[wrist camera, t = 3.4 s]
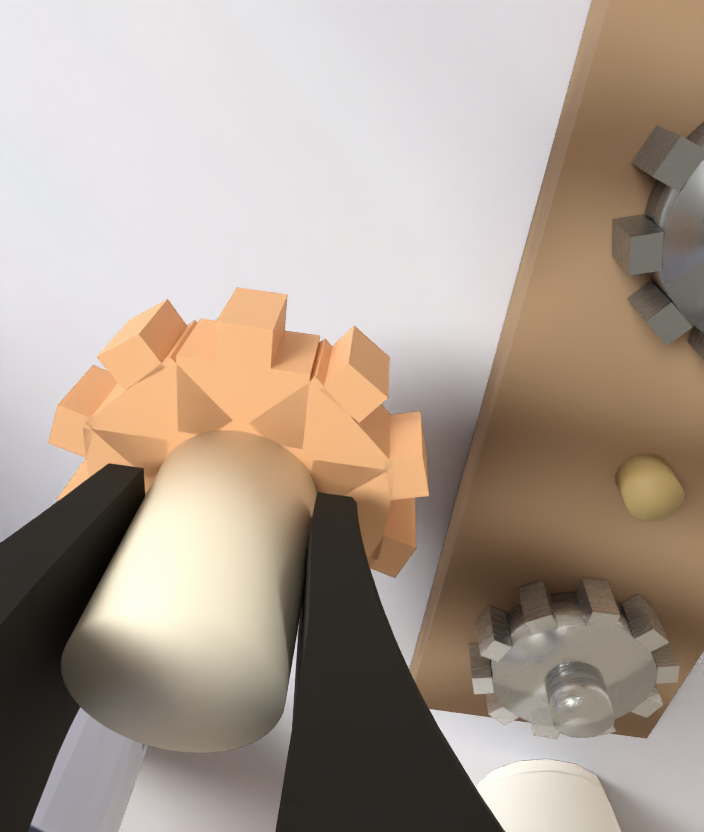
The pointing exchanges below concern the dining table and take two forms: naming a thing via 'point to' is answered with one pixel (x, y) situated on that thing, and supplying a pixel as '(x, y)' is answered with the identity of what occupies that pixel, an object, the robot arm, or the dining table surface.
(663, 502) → the gear board
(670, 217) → the gear
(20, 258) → the dining table surface
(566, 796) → the foam cup
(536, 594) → the gear
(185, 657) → the loose gear
